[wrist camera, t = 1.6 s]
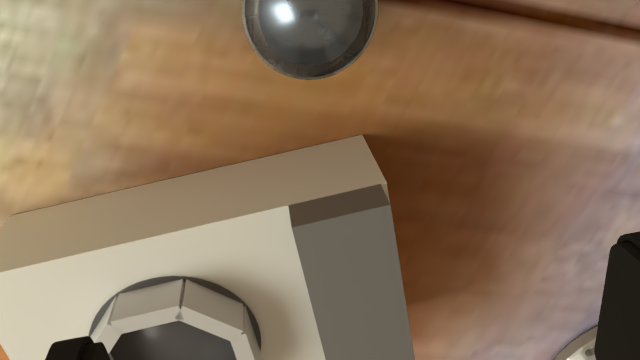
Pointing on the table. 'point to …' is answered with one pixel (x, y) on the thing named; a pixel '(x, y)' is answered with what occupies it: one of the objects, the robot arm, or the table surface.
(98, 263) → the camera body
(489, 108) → the table surface
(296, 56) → the silver grey short cylinder
